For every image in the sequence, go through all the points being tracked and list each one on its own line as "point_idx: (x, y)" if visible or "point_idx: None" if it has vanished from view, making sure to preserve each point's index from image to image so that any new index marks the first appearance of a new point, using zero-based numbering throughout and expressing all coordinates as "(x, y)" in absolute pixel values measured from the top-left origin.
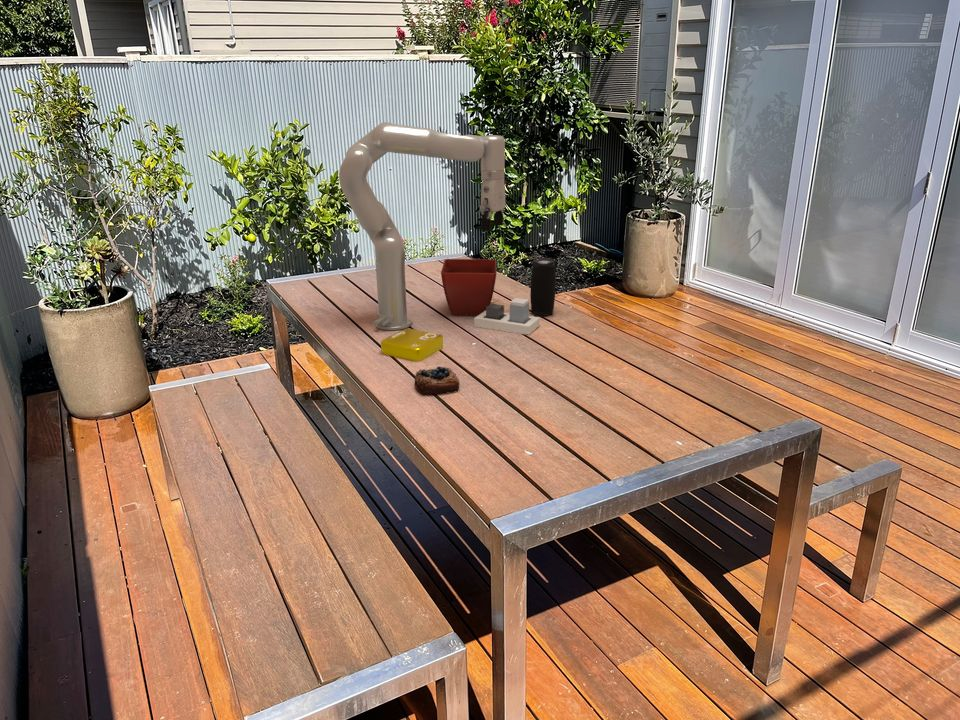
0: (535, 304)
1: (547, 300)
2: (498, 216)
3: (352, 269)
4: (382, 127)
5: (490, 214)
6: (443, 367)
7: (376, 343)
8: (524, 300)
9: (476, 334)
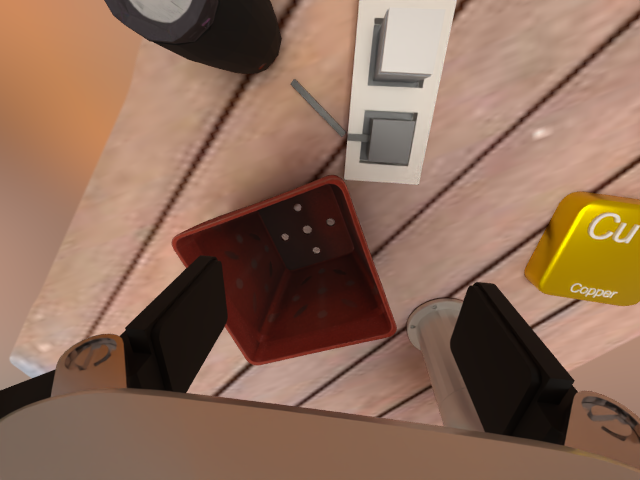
0: (276, 41)
1: None
2: (183, 344)
3: None
4: None
5: (581, 449)
6: None
7: (554, 315)
8: (404, 22)
9: (469, 153)
